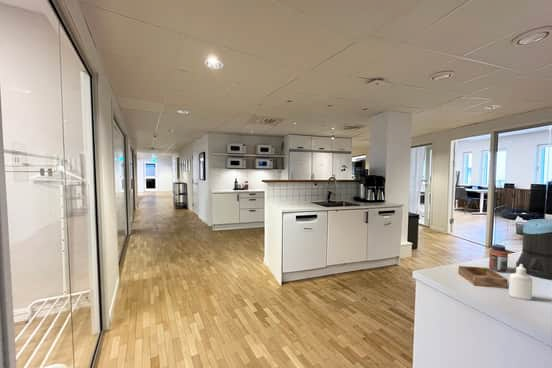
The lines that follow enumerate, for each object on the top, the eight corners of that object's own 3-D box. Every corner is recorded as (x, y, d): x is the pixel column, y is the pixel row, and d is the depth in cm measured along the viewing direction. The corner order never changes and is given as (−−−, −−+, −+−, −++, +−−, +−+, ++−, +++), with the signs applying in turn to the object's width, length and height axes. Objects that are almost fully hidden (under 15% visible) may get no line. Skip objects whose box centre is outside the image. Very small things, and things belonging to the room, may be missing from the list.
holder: (487, 275, 100) (487, 267, 99) (507, 288, 89) (507, 279, 89) (458, 273, 102) (458, 265, 102) (474, 285, 91) (474, 276, 91)
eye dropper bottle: (531, 302, 79) (533, 268, 78) (508, 296, 83) (509, 263, 83) (531, 298, 82) (533, 265, 81) (509, 292, 86) (510, 260, 86)
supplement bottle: (485, 266, 109) (486, 243, 108) (500, 267, 108) (501, 243, 107) (494, 272, 103) (496, 247, 102) (510, 273, 102) (512, 248, 101)
